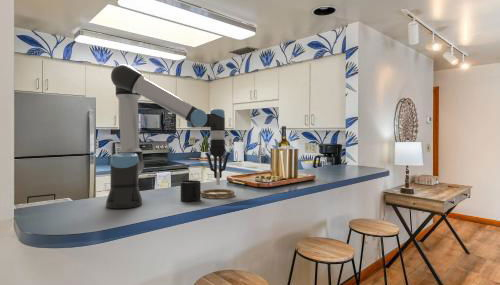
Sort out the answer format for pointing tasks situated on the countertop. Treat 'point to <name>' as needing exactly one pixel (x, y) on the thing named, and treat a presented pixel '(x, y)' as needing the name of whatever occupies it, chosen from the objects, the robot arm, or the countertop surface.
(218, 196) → the tray
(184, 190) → the mug
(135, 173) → the robot arm
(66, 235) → the countertop surface
